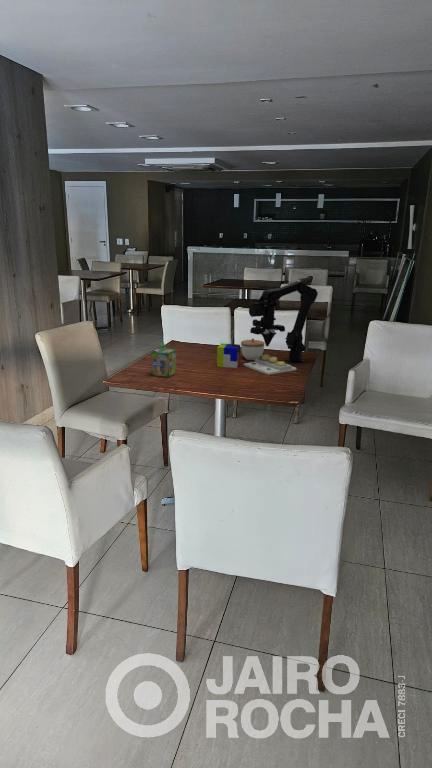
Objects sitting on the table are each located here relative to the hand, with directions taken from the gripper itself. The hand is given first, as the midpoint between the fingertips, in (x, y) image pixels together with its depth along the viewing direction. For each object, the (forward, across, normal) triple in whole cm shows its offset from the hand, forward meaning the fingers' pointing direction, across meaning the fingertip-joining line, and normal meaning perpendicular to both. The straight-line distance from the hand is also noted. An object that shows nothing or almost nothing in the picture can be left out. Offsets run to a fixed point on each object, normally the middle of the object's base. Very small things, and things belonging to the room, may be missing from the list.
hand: (267, 346), depth 253 cm
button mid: (+8, 0, +5) cm, 9 cm away
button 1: (+8, 0, -1) cm, 8 cm away
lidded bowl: (+10, -2, -15) cm, 18 cm away
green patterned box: (+10, +54, -11) cm, 56 cm away
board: (+10, +2, +5) cm, 11 cm away
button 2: (+9, 0, +11) cm, 14 cm away
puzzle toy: (+10, +17, -10) cm, 22 cm away
